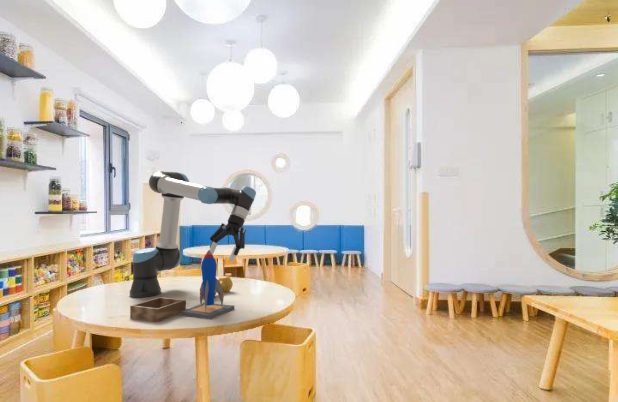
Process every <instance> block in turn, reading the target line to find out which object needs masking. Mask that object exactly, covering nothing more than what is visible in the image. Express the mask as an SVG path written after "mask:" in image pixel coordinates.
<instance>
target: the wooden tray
mask: <svg viewBox="0 0 618 402" xmlns="http://www.w3.org/2000/svg"><path fill="white" fill-rule="evenodd" d="M186 301H187V299H180V298H172V297H161V296H158V297H156V298H152V299H148V300H145V301H142V302H138V303H135V304H132V305H129V310H130V311H129V314H130V315H129V317H130V319H134V318H136V320H142V321H148V322H157V323H159V322H162V321H163V320H164V321H165V320H167V319H169V318H172V317H175V316H178V315H180V311H183V310H186V309H187V302H186Z"/></svg>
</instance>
